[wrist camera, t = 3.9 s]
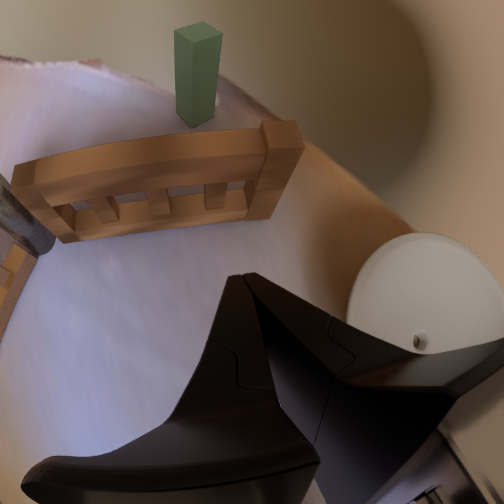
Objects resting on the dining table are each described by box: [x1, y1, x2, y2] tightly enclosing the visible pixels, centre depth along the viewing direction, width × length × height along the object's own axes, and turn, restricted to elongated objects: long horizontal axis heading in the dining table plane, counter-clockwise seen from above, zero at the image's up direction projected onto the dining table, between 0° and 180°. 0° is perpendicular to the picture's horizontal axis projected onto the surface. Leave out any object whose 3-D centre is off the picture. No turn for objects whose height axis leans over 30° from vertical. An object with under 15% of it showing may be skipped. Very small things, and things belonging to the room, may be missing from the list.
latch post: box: [174, 22, 223, 128], centre depth 21 cm, size 2×2×9 cm
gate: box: [10, 121, 305, 244], centre depth 17 cm, size 15×2×8 cm, turn 101°
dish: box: [346, 232, 504, 354], centre depth 19 cm, size 18×14×5 cm
